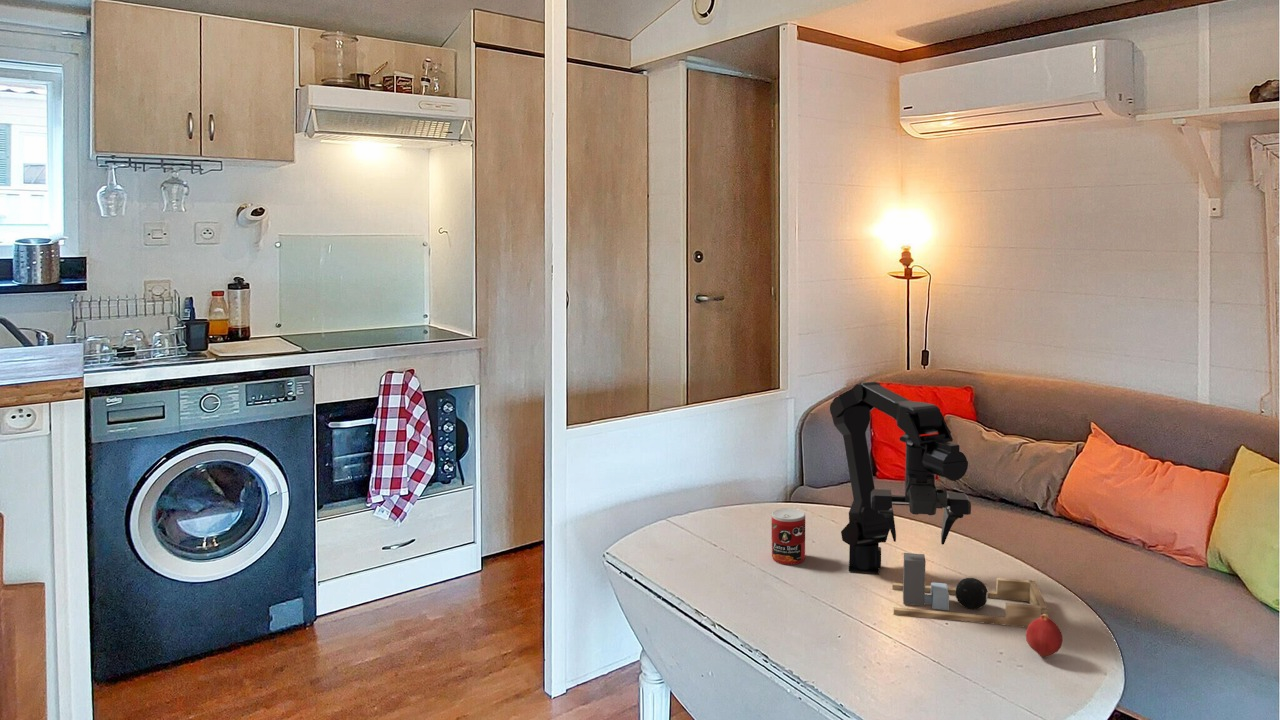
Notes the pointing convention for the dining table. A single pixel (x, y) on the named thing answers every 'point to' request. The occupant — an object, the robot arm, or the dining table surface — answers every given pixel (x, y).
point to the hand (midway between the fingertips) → (918, 542)
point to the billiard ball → (971, 593)
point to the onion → (1044, 636)
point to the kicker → (921, 584)
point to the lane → (947, 614)
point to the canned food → (788, 536)
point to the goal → (1023, 592)
